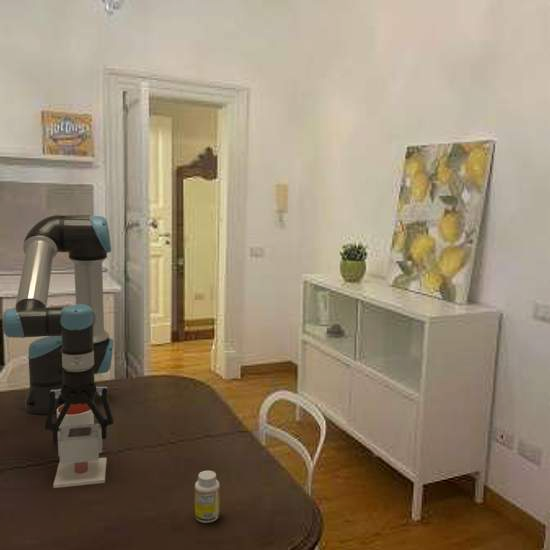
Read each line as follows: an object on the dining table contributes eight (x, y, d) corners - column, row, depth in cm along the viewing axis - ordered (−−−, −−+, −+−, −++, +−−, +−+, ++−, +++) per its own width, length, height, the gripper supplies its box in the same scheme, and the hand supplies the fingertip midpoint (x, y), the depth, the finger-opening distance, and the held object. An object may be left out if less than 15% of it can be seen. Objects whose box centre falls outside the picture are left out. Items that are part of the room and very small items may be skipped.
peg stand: (59, 464, 146) (58, 436, 145) (106, 460, 149) (105, 432, 148) (53, 488, 134) (52, 457, 133) (104, 482, 138) (104, 452, 136)
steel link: (64, 447, 144) (63, 426, 143) (100, 444, 146) (99, 423, 145) (60, 464, 135) (59, 441, 135) (98, 460, 138) (97, 437, 137)
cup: (82, 450, 154) (81, 416, 153) (50, 446, 156) (49, 413, 155) (100, 435, 164) (99, 403, 162) (70, 431, 166) (69, 400, 164)
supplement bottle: (207, 507, 128) (208, 465, 127) (224, 516, 125) (225, 474, 123) (189, 517, 124) (189, 474, 122) (206, 527, 120) (206, 483, 119)
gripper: (28, 374, 131) (32, 463, 134) (123, 369, 137) (124, 454, 140) (34, 365, 138) (37, 449, 142) (123, 360, 144) (124, 441, 147)
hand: (80, 452), depth 141 cm, fingers closed on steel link, 9 cm apart
